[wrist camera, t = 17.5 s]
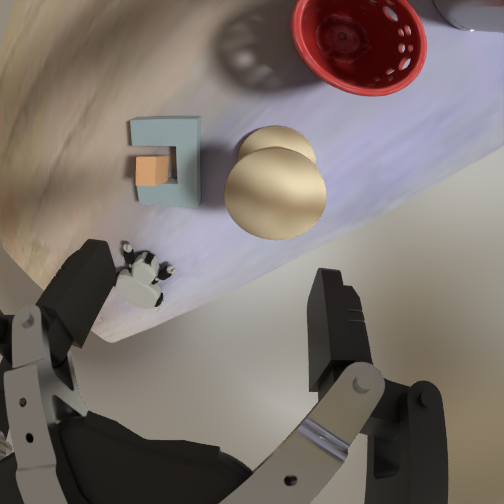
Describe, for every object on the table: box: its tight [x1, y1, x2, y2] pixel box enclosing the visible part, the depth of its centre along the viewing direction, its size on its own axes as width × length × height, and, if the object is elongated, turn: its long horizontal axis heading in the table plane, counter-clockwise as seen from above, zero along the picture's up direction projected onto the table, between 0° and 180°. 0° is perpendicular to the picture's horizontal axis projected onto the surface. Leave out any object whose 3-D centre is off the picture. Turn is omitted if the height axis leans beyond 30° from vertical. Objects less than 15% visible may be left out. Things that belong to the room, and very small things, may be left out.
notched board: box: [130, 116, 201, 209], centre depth 38 cm, size 14×10×2 cm
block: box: [136, 155, 169, 186], centre depth 36 cm, size 4×3×5 cm
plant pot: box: [290, 0, 427, 96], centre depth 21 cm, size 13×13×12 cm
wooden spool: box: [224, 126, 326, 240], centre depth 33 cm, size 11×11×11 cm
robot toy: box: [114, 244, 176, 314], centre depth 53 cm, size 12×4×15 cm
